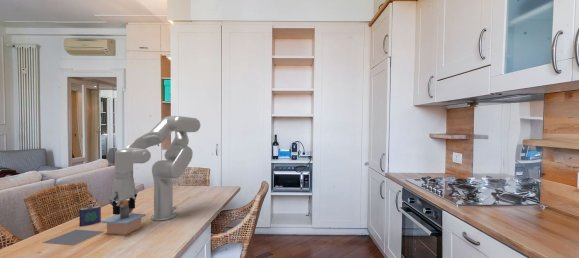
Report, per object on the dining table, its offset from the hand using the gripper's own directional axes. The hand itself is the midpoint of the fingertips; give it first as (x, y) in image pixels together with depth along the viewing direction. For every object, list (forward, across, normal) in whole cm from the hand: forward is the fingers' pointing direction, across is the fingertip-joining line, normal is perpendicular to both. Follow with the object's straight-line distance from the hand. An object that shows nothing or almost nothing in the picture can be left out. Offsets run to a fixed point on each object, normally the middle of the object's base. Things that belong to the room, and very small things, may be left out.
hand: (124, 211), depth 135 cm
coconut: (+10, -22, -19) cm, 31 cm away
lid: (+4, 0, 0) cm, 4 cm away
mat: (+10, +11, -16) cm, 22 cm away
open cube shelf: (+10, 0, 0) cm, 10 cm away
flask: (+10, -5, -24) cm, 26 cm away
